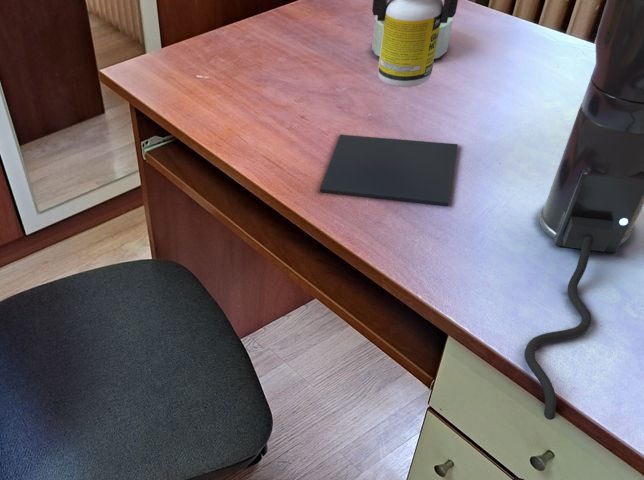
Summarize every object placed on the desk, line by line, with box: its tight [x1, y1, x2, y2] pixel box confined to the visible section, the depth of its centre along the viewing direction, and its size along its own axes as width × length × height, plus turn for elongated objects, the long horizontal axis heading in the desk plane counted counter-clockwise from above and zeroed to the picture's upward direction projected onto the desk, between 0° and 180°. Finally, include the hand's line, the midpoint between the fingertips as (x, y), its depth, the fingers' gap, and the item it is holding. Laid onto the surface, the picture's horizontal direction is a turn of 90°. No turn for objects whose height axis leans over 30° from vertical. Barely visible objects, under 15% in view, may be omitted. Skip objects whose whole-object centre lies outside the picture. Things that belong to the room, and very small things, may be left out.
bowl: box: [371, 15, 455, 60], centre depth 109 cm, size 12×12×6 cm
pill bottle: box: [377, 0, 444, 88], centre depth 75 cm, size 6×6×11 cm
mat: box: [319, 134, 459, 207], centre depth 88 cm, size 14×16×1 cm
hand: (412, 18), depth 74 cm, fingers closed on pill bottle, 6 cm apart
